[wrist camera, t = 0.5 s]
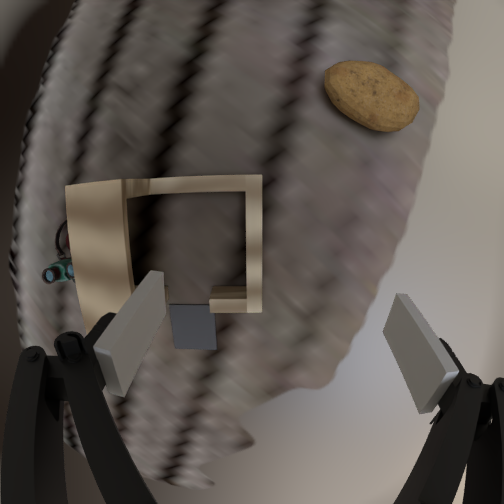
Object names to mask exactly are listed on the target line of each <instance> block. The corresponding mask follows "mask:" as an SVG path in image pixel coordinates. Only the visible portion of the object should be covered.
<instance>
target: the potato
mask: <svg viewBox="0 0 504 504" xmlns="http://www.w3.org/2000/svg"><path fill="white" fill-rule="evenodd" d="M324 85H325V90H326V92H327V94H328V96H329V98H330V100H331V102H332V103H333V104H334V105H335V106H336V107H337V108H338V109H339V110H340V111H341V112H342V113H344V114H345V115H347V116H348V117H349V118H351V119H353V120H354V121H356V122H358V123H360V124H361V125H363V126H365V127H367V128H369V129H371V130H377V131H385V132H391V131H400V130H401V129H403V128H404V127H406V126H407V125H409V124H410V123H412V122H413V120H414V118H415V116H416V114H417V113H418V111H419V97H418V96H417V94H416V93H415V92H414V90H413V89H412V88H411V87H410V86H409V85H408V84H407V83H405V82H404V81H403V80H402V79H400V78H399V77H397V76H396V75H394V74H393V73H391V72H390V71H389V70H387V69H386V68H385V67H383V66H381V65H378V64H375V63H372V62H365V61H344V62H339V63H337V64H335V65H333V66H332V67H330V68H328V69H327V70H325V84H324Z"/></svg>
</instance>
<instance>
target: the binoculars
mask: <svg viewBox="0 0 504 504" xmlns="http://www.w3.org/2000/svg"><path fill="white" fill-rule="evenodd" d="M66 223H67V219H66V220H64V221H63V223H62V224H61V225H60V226H59V228H58V230H57V233H56V237H55V246H56V248H55V249H56V250H57V252H58V254H57V257H58V259H59V260H61V261H58V262H55V263H53V264H51V265H49V267H48V268H47V269H45V270H44V271H43V272H42V279H43V281H44V282H45V283H46V284H52V283H54V282H55V281H57V282H62V281H67V280H71V279H72V280H73V282H75V276H74V270H73V264H72V257H70V258H66V257H65V253H64V252H63V251H62V249H61V248H60V245H59V237H60V232H61V230H62V228H63V226H64V225H65V224H66ZM66 244H67V247H68V248H69V250H70V242H69V233H68V234H67V237H66ZM70 251H71V250H70ZM58 255H59V256H61V255H64V257H63V258H59V256H58ZM75 284H76V282H75Z"/></svg>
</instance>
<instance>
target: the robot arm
mask: <svg viewBox="0 0 504 504" xmlns="http://www.w3.org/2000/svg"><path fill="white" fill-rule="evenodd" d="M165 315H166V304H165V290H164V273H163V272H160V271H152V270H150V272H149V273H148V274H147V275H146V277H145V278H144V279H143V281H142V282H141V283H140V284H139V286H138V287H137V288H136V289H135V291H134V292H133V293H132V295H131V296H130V297H129V298H128V300H127V301H126V302H125V304H124V305H123V306H122V308H121V309H120V310H119V312H118V313H113V312H108V313H107V314H105V315H104V316H102V317H101V318H100V319H99V320H98V322H97V323H96V325H94V327H93V328H92V330H91V331H90V332H89V333H88V334H87V336H86V337H85V338H83V336H82V335H81V334H80V333H78V332H73V331H71V332H65V333H63V334H61V335H59V336H58V337H57V338H56V339H55V341H54V347H55V349H56V352H57V354H58V356H47V355H46V353H45V351H44V349H43V348H41V347H40V346H31V347H28V348H26V349H25V350H24V351H23V352H22V353H21V355H20V357H19V361H18V365H17V369H16V373H15V377H14V381H13V386H12V390H11V395H10V400H9V406H8V411H7V417H6V424H5V432H4V441H3V452H2V465H1V504H68V500H67V491H66V482H65V470H64V452H63V451H64V450H63V411H64V401H69V404H70V407H71V411H72V415H73V418H74V422H75V425H76V428H77V431H78V435H79V438H80V441H81V444H82V447H83V449H84V452H85V455H86V458H87V460H88V463H89V465H90V468H91V470H92V473H93V475H94V477H95V480H96V482H97V485H98V487H99V489H100V491H101V493H102V496H103V498H104V500H105V502H106V504H157V502H156V500H155V498H154V497H153V495H152V493H151V492H150V490H149V489H148V487H147V485H146V483H145V482H144V480H143V478H142V476H141V475H140V473H139V471H138V469H137V467H136V465H135V463H134V462H133V460H132V458H131V456H130V454H129V452H128V450H127V448H126V446H125V444H124V442H123V439H122V437H121V435H120V433H119V431H118V429H117V426H116V424H115V422H114V419H113V417H112V415H111V412H110V410H109V407H108V405H107V402H106V400H105V397H104V395H103V392H102V390H103V389H104V387H105V385H106V387H107V389H108V392H109V393H111V394H114V395H118V396H121V397H125V395H126V393H127V390H128V388H129V386H130V384H131V382H132V380H133V378H134V376H135V374H136V372H137V370H138V368H139V366H140V364H141V362H142V360H143V358H144V356H145V354H146V352H147V350H148V348H149V346H150V344H151V342H152V340H153V338H154V336H155V334H156V332H157V330H158V328H159V327H160V325H161V323H162V321H163V319H164V317H165ZM383 334H384V336H385V338H386V340H387V342H388V344H389V346H390V348H391V350H392V352H393V355H394V357H395V359H396V361H397V363H398V365H399V368H400V370H401V372H402V374H403V376H404V379H405V381H406V383H407V386H408V388H409V390H410V393H411V395H412V397H413V400H414V402H415V405H416V407H417V410H418V412H419V414H424V413H429V412H432V411H433V410H434V408H435V407H436V406H437V404H438V405H439V407H440V410H439V412H438V413H437V415H436V416H435V417H434V418H433V420H432V421H431V422H430V424H432V423H433V422H434V423H433V425H432V428H431V430H430V433H429V435H428V438H427V440H426V442H425V444H424V447H423V449H422V451H421V453H420V455H419V457H418V460H417V462H416V464H415V466H414V468H413V470H412V472H411V473H410V476H409V477H408V479H407V481H406V483H405V485H404V487H403V488H402V490H401V492H400V494H399V495H398V497H397V499H396V500H395V502H394V504H452V502H453V500H454V498H455V495H456V492H457V490H458V487H459V484H460V481H461V479H462V476H463V473H464V470H465V467H466V464H467V469H466V480H465V489H464V497H463V504H504V378H497V379H496V380H495V381H494V383H493V384H492V385H488V384H483V383H482V381H481V379H480V378H479V377H478V376H476V375H474V374H471V373H466V371H465V369H464V368H463V366H462V365H461V363H460V362H459V360H458V358H457V357H455V354H454V352H452V349H451V348H450V346H449V345H448V344H447V343H446V342H445V341H444V340H442V339H441V338H438V337H437V336H436V334H435V332H434V331H433V330H432V328H431V327H430V325H429V324H428V322H427V321H426V319H425V318H424V317H423V315H422V314H421V313H420V311H419V310H418V309H417V307H416V305H415V304H414V303H413V301H412V300H411V299H410V297H409V296H408V295H407V294H396V296H395V299H394V302H393V305H392V308H391V311H390V313H389V316H388V319H387V322H386V324H385V327H384V330H383ZM491 419H492V423H491Z"/></svg>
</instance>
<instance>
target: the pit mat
mask: <svg viewBox="0 0 504 504" xmlns="http://www.w3.org/2000/svg"><path fill="white" fill-rule="evenodd" d="M169 306H170V315H171V323H172V330H173V337H174V344H175V348H178V349H207V350H217V342H216V327H215V313H210V305H194V304H170V305H169Z"/></svg>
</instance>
